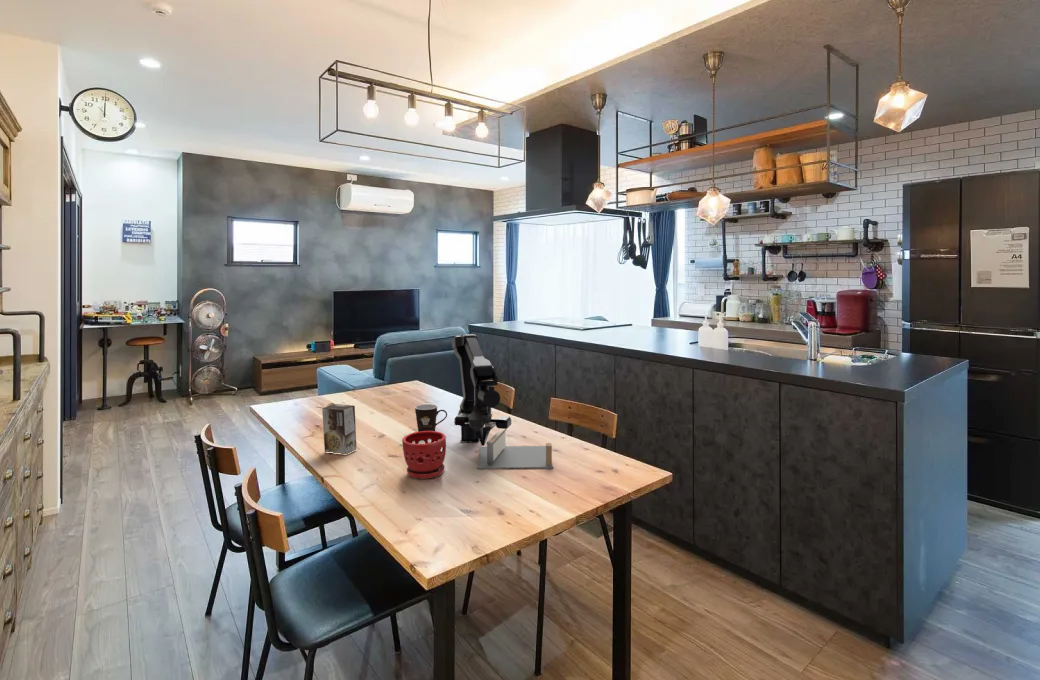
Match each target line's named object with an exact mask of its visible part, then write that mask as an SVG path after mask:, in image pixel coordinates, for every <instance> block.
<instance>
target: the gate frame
mask: <svg viewBox="0 0 1040 680" xmlns="http://www.w3.org/2000/svg"><path fill="white" fill-rule="evenodd" d="M478 452H479V453H478V459H477V460H478V461H477V470H500V469H499V468H514V470H518V469H517V468H539V469H554V465H553V461H552V460H553V446H552V443H551V442H546V443H545V445H537V446H536V445H516V446H515V445H514V446H513V445H511V446H509V445H508V446H505V448H504V449H503V450H502V451H501V452H500V454H499V455H498V456H497V457H496V459H495V460H494V461H493V464H487V446H479V451H478Z"/></svg>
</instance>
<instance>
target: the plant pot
mask: <svg viewBox="0 0 1040 680" xmlns="http://www.w3.org/2000/svg"><path fill="white" fill-rule="evenodd" d="M446 438H447V437H446V435H445V434H444V433H443V432H441V431H436V430H435V431H420V432H418V431H415V432H411V433H409V434H407V435H405V436H403V437H402V451H403V458H404V461H405V463H406V465H407V468H406V473H407V474H408V475H409V476H410V477H412V478H414V477H415V478H414V479H419V478H421V479H422V480H424V479H431V478H433V477H434V478H436V477H439V476H440V475H441V474H443V473H444V472H445V468H446V466H445V464H444V461H445V458H446V453H447V441H446V440H447V439H446ZM428 440H430V441H428ZM422 441H423V442H424V443H420V442H422Z"/></svg>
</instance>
